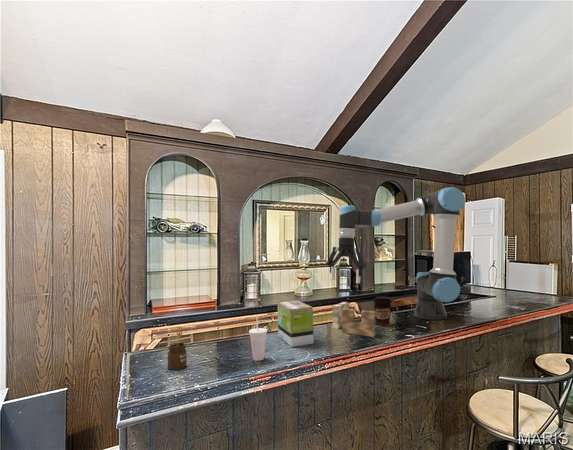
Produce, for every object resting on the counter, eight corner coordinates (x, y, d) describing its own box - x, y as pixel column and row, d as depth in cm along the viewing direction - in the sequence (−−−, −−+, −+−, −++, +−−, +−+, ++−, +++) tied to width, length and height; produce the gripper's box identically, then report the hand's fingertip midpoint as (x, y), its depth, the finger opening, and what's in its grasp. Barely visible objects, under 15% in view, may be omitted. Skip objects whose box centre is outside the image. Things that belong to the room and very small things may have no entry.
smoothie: (262, 354, 115) (261, 314, 116) (271, 359, 109) (270, 318, 110) (246, 357, 111) (245, 317, 112) (254, 363, 106) (253, 320, 107)
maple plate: (344, 322, 158) (343, 301, 158) (349, 322, 156) (348, 302, 157) (332, 328, 147) (332, 306, 147) (337, 329, 145) (337, 306, 146)
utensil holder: (165, 370, 102) (165, 332, 102) (171, 363, 108) (171, 327, 109) (183, 369, 102) (183, 331, 103) (188, 362, 108) (188, 326, 109)
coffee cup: (393, 328, 145) (392, 299, 146) (374, 327, 147) (373, 298, 148) (391, 323, 154) (390, 295, 155) (373, 322, 156) (372, 295, 156)
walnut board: (375, 335, 135) (374, 311, 135) (373, 336, 133) (372, 312, 133) (344, 330, 142) (343, 308, 143) (342, 332, 140) (341, 309, 141)
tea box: (277, 337, 135) (276, 301, 136) (298, 334, 139) (298, 299, 140) (291, 347, 122) (290, 308, 122) (314, 343, 125) (313, 305, 126)
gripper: (320, 236, 159) (319, 279, 158) (367, 237, 143) (366, 285, 142) (328, 237, 165) (327, 278, 164) (374, 238, 149) (373, 284, 148)
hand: (345, 281), depth 153 cm, fingers open, 13 cm apart
